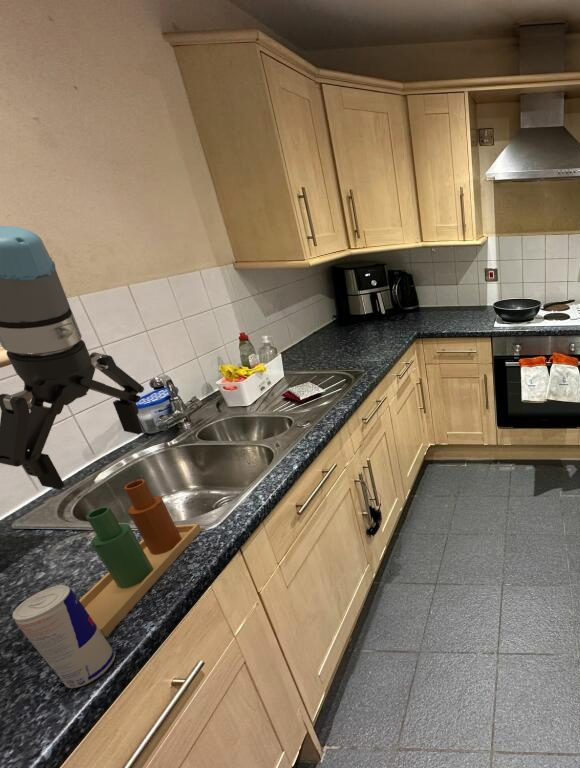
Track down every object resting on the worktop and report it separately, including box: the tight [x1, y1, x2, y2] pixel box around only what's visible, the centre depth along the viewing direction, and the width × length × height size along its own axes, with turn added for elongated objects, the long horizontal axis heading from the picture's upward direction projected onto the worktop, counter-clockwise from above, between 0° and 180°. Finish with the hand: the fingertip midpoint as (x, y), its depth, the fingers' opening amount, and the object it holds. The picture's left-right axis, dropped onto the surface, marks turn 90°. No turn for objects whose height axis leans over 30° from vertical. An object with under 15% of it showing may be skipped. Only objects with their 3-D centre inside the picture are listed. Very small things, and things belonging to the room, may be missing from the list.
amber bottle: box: [124, 479, 182, 555], centre depth 81 cm, size 5×5×16 cm
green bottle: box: [85, 506, 153, 588], centre depth 74 cm, size 5×5×16 cm
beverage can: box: [12, 584, 116, 689], centre depth 58 cm, size 6×6×15 cm
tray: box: [79, 523, 203, 638], centre depth 77 cm, size 9×24×2 cm, turn 3°
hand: (97, 456), depth 68 cm, fingers open, 13 cm apart
